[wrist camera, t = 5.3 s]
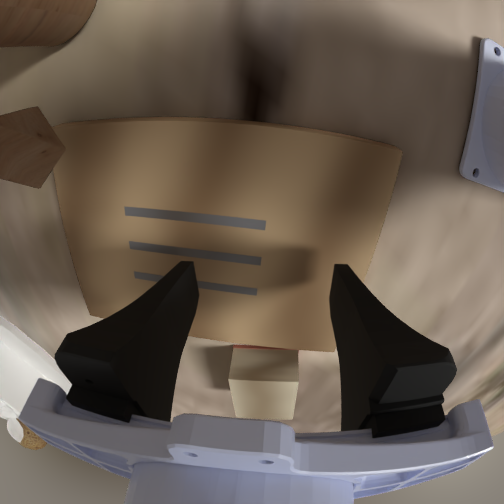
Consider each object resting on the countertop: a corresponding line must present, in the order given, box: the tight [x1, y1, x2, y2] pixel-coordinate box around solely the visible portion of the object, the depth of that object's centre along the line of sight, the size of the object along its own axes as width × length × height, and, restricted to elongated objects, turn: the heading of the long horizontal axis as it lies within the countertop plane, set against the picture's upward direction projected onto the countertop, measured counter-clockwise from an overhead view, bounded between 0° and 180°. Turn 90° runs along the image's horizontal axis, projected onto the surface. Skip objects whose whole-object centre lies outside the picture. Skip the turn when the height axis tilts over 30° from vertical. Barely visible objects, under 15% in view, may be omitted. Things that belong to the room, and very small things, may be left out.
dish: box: [0, 316, 72, 442], centre depth 26 cm, size 25×25×11 cm
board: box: [52, 117, 403, 352], centre depth 15 cm, size 17×13×1 cm
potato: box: [16, 418, 47, 450], centre depth 36 cm, size 9×9×10 cm
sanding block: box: [228, 345, 299, 419], centre depth 20 cm, size 5×6×3 cm
